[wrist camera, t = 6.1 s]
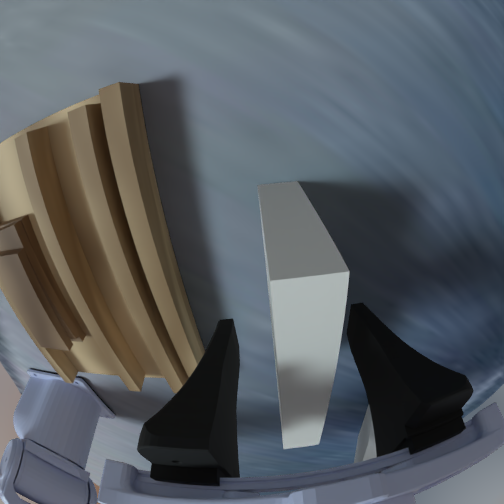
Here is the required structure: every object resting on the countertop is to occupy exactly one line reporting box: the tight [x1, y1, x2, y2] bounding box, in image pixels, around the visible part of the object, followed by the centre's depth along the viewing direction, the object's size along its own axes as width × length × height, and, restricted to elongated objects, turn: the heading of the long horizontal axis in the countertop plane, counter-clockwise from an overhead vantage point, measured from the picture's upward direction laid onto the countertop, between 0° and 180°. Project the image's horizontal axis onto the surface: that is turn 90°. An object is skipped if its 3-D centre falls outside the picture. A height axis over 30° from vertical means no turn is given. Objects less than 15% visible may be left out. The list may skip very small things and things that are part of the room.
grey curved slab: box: [354, 405, 381, 473], centre depth 23 cm, size 17×5×10 cm, turn 11°
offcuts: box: [0, 214, 86, 351], centre depth 15 cm, size 4×10×2 cm, turn 6°
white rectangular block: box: [257, 181, 350, 449], centre depth 13 cm, size 2×12×8 cm, turn 6°
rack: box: [0, 82, 205, 393], centre depth 15 cm, size 14×20×3 cm
